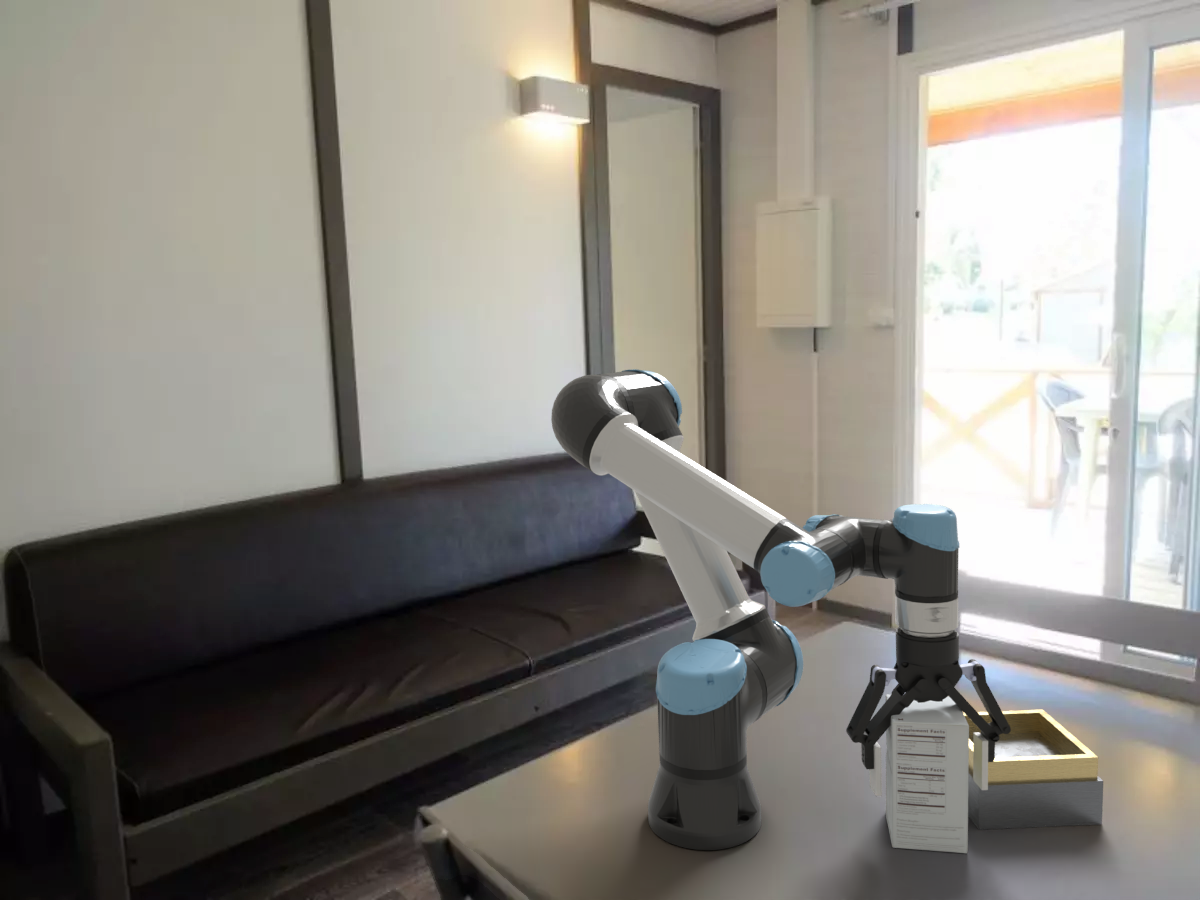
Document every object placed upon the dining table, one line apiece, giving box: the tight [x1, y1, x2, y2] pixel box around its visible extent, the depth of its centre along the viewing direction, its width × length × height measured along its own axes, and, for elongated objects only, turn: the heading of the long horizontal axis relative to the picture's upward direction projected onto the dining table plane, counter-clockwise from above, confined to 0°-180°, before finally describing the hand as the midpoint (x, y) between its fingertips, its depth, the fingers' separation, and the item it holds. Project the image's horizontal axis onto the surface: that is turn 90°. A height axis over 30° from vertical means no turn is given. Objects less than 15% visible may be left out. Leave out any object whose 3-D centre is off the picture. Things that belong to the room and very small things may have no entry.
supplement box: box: [885, 693, 969, 854], centre depth 120 cm, size 10×9×17 cm
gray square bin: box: [963, 709, 1104, 830], centre depth 129 cm, size 16×16×9 cm
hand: (928, 788), depth 120 cm, fingers open, 13 cm apart
